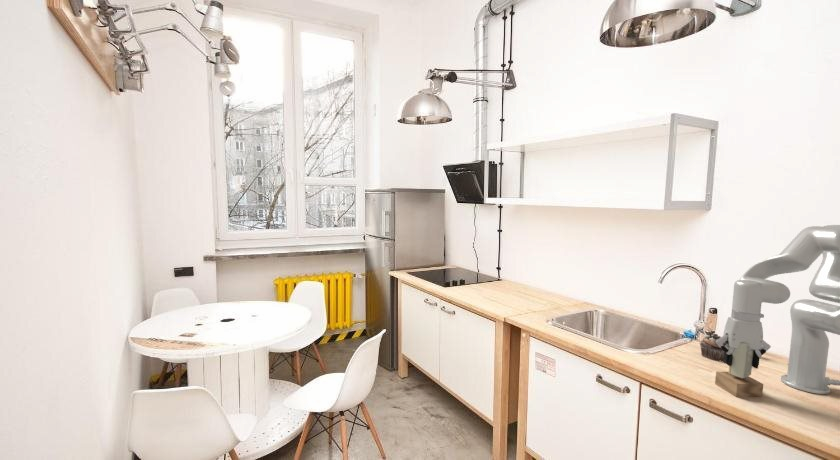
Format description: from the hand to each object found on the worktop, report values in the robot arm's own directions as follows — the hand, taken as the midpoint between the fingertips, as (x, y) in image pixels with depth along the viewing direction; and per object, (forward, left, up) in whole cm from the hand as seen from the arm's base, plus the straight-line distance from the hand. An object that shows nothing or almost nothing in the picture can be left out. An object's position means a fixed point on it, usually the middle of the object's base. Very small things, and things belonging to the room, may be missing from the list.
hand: (740, 365), depth 132 cm
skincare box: (0, 0, -4) cm, 4 cm away
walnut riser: (0, 0, -10) cm, 10 cm away
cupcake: (-8, -31, -9) cm, 33 cm away
